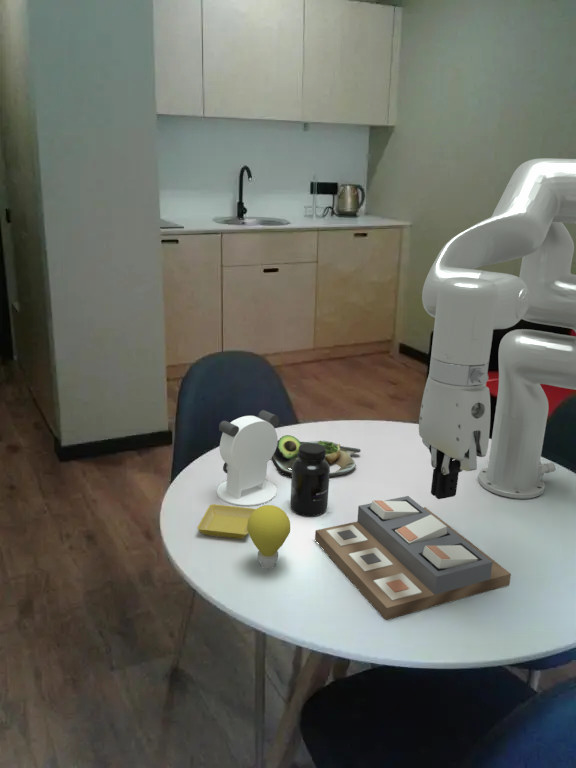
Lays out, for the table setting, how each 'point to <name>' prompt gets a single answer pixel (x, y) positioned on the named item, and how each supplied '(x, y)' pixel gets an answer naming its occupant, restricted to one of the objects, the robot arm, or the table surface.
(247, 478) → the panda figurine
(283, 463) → the salad plate
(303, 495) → the supplement bottle
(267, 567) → the light bulb
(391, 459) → the table surface
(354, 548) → the board
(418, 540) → the rocker
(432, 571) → the switch housing
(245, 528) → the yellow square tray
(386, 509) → the rocker
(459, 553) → the rocker
